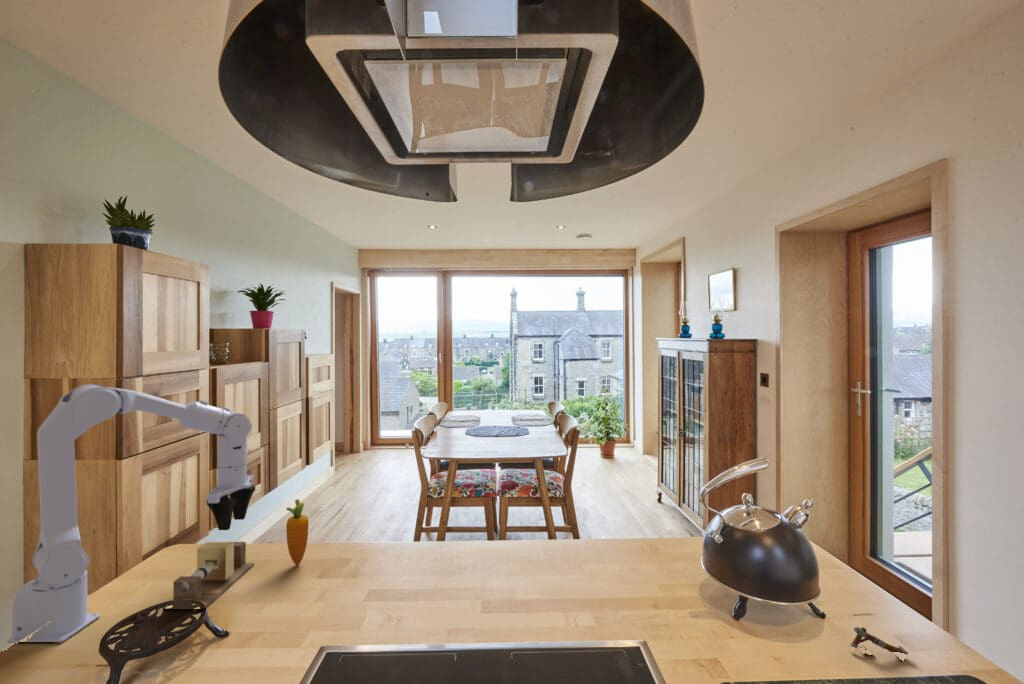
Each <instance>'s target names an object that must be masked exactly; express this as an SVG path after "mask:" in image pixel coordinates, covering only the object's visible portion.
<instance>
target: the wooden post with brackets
mask: <svg viewBox="0 0 1024 684" xmlns="http://www.w3.org/2000/svg"><path fill="white" fill-rule="evenodd" d="M853 631H854V632H855V633H856V636H855V637H854V639H853V640H852V641H851V643H850V646H852V647H855V648H857V647H859V645H860V644H861V643H864V642H867V641H871V643H872V644H874V645H876V646H878V647H879V648H882V649H883V650H887V651H888V652H890V653H891V652H900V653H904V654H907V656H908V654H909V652H908V650H907V651H906V649H904V648H903V646H900V645H898V646H893V645H891V644H889V643H886V642H885V641H884V640H882V639H880V638H879V637H877V636H875V635H873V634H870V633H868V632H867V629H866V628H865V627H863V626H862V627H860V626H857V627H853ZM862 646H863V647H864V648H865V650H867V649H868V648H867V649H866V647H865V646H864V645H862ZM862 646H860V648H862ZM898 647H899V648H898ZM857 649H858V648H857Z"/></svg>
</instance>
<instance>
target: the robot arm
mask: <svg viewBox="0 0 1024 684" xmlns="http://www.w3.org/2000/svg"><path fill="white" fill-rule="evenodd" d="M135 411H138V412H139V411H141V412H145V413H148V414H153V415H158V416H164V417H167V418H173V419H177V420H178V421H179V424H180V425H181V427H182V428H184V429H185V428H186V429H191V430H195V431H199V432H204V433H208V434H213V435H215V434H216V435H217V485H216V486H215V487H214V488H213V490H212V491H211V492H210V493H208V494H207V499H206V505H207V507H209V509H210V510H211V512H212V514H213V516H214V519H215V522H216V525H217V528H218V531H229V530H230V529H231V525H232V519H234V521H235V520H237V521H238V520H240V521H241V520H242V521H243V520H245V518H246V515H247V511H248V507H249V503H250V500H251V498H252V496H253V494H254V492H255V491H256V486H255V485H252V484H254V478H255V477H254V476H255V475H254V474H248V473H247V466H248V463H247V462H248V460H247V459H248V456H247V455H248V443H247V442H248V441H247V439H248V438H247V436H248V435H249V434H250V432H251V431H252V426H253V424H251V422H250V419H249V418H248V417H247V415H245V414H243V413H240V412H236V411H232V410H231V408H229V407H223V408H220V407H217V406H214V405H210V404H209V402H208V401H206V400H202V399H201V400H200V399H199V401H194V400H193V401H191V402H189V403H186V404H183V403H182V404H181V403H179V402H175V401H171V400H167V399H164V398H161V397H158V396H156V395H155V396H154V395H150V394H148V393H144V392H140V391H137V390H132V389H127V388H126V389H125V388H119V387H118V388H117V387H110V386H106V387H105V386H101V385H98V384H91V383H88V384H83V385H79V386H77V387H76V388H73V389H72V390H70V391H69V392H68V393H66V394H64V395H63V396H61V397H60V399H59V401H58V403H57V404H56V405H55V407H54V409H52V410H51V412H50V413H49V415H48V416H47V417H46V418H45V420H43V423H41V425H40V426H39V428H38V429H37V432H36V440H37V441H36V443H37V465H38V469H37V470H38V489H39V513H40V514H39V515H40V518H39V519H40V532H39V534H38V545H37V547H36V548H35V551H34V553H33V555H32V558H31V561H32V565H33V566H34V568H35V569H36V570H37V572H38V574H37V576H36V577H35V578H34V579H33V580H30V581H29V582H26V583H25V584H24V585H23V586H22V587H20V589H19V590H18V591H17V593H16V594H15V596H14V599H13V601H12V606H11V607H12V618H11V619H12V621H11V622H12V624H11V625H12V631H11V633H12V635H11V636H12V637H10V638H8V639H7V641H6V642H7V644H17V642H19V641H20V640H22V639H24V638H25V637H26V636H28V635H30V634H31V633H33V632H35V631H36V630H38V629H39V628H41V627H42V628H41V629H39V630H38V631H37V632H35V633H34V634H32V635H33V636H32V637H31V638H30V639H28V638H29V637H27V641H25V642H59V643H63V642H65V641H66V640H68V639H69V638H71V637H72V636H73V635H75V634H76V633H78V632H79V631H81V630H82V629H84V628H86V627H87V626H88V625H89V624H91V623H92V622H94V621H95V620H97V619H98V618H100V617H101V613H88V567H89V566H90V564H89V563H90V558H89V555H88V554H87V552H86V551H85V550H84V549H83V547H82V539H81V538H82V537H81V535H80V530H79V525H78V500H77V497H78V495H77V475H76V451H75V450H76V448H75V446H76V445H75V440H76V439H78V438H79V437H80V436H81V435H83V434H84V433H85V432H86V431H87V430H89V429H91V427H93V426H96V425H98V424H101V423H104V421H108V420H109V419H111V418H113V417H114V416H115V415H116V414H117V413H118V414H121V415H123V414H129V413H132V412H135ZM232 516H233V518H232ZM58 616H59V617H58ZM50 621H51V622H50ZM48 622H50V623H48ZM47 623H48V624H47ZM46 624H47V625H46ZM44 625H45V626H44ZM30 636H31V635H30ZM70 636H71V637H70Z"/></svg>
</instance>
